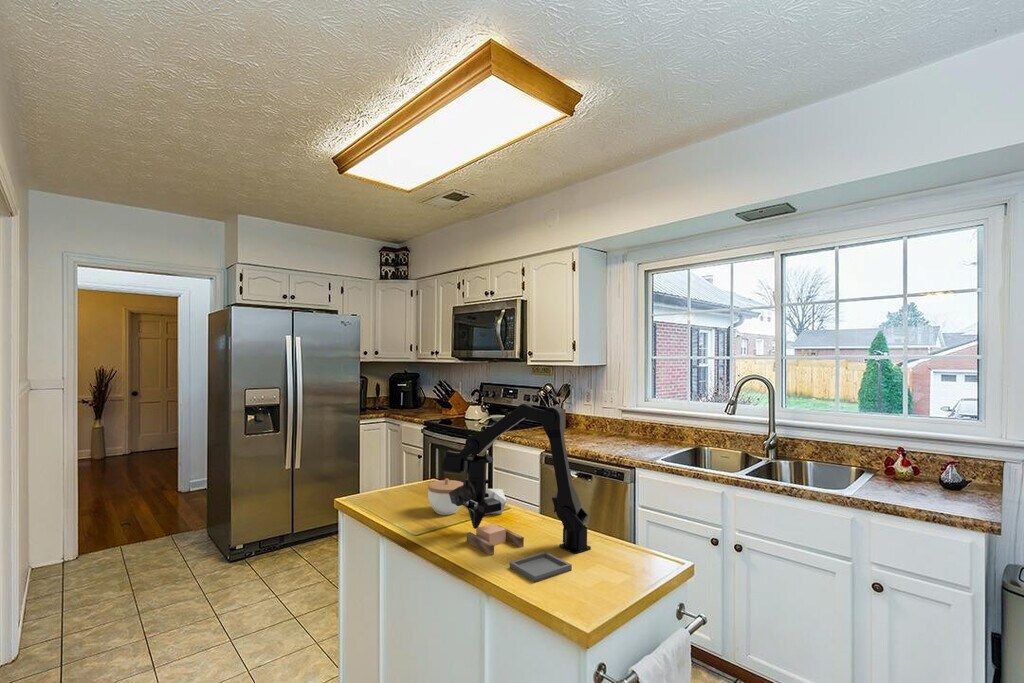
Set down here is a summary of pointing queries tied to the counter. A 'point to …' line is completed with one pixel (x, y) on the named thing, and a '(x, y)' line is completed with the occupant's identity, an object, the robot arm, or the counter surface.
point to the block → (492, 534)
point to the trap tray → (540, 566)
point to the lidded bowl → (443, 496)
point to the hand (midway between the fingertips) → (475, 528)
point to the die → (497, 498)
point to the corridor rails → (489, 547)
